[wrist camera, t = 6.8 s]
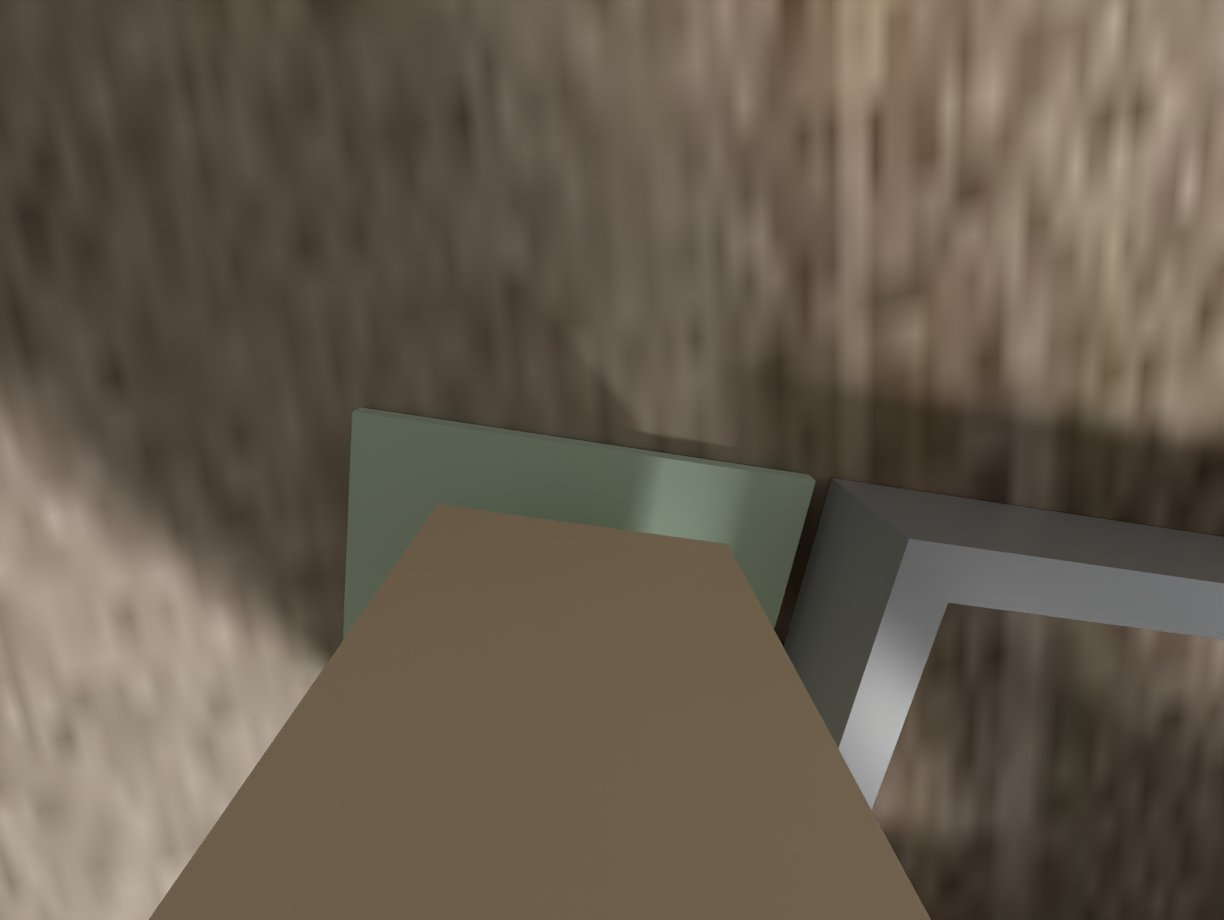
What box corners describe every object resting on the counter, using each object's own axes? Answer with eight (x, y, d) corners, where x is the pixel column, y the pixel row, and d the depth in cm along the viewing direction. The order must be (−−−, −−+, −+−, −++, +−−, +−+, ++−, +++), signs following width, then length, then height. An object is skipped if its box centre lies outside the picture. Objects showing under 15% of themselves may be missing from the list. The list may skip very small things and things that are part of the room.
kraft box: (727, 543, 10) (1166, 1352, 2) (654, 849, 12) (768, 1838, 4) (437, 504, 10) (-139, 1328, 2) (410, 827, 12) (64, 1872, 4)
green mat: (808, 474, 12) (815, 480, 11) (715, 814, 14) (718, 829, 14) (360, 407, 11) (351, 411, 11) (343, 779, 14) (336, 793, 13)
